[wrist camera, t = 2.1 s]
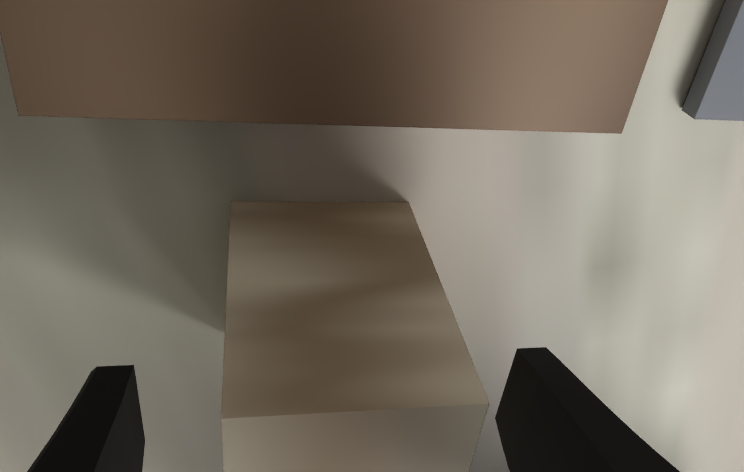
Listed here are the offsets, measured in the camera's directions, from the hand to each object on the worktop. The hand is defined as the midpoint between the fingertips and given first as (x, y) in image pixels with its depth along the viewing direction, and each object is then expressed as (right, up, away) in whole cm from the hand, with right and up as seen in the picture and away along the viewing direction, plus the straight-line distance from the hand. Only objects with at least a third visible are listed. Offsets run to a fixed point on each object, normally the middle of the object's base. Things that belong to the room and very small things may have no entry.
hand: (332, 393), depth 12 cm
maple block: (-1, +2, +3) cm, 4 cm away
